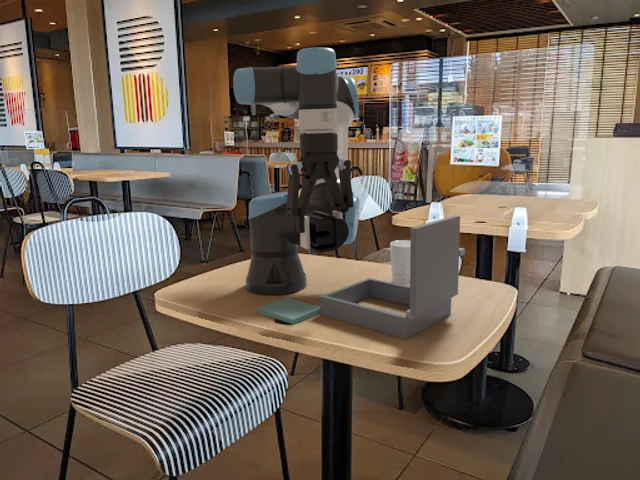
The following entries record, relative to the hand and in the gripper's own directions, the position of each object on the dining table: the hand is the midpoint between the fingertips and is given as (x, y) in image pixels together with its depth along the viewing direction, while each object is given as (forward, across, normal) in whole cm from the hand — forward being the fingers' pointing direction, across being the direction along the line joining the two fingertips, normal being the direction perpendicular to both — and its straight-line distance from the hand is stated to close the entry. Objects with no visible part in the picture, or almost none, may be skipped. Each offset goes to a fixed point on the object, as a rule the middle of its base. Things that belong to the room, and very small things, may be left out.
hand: (322, 244), depth 105 cm
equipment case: (+15, +11, -9) cm, 20 cm away
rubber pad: (+15, -6, +3) cm, 16 cm away
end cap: (+1, 0, 0) cm, 1 cm away
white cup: (+15, +28, +6) cm, 32 cm away
